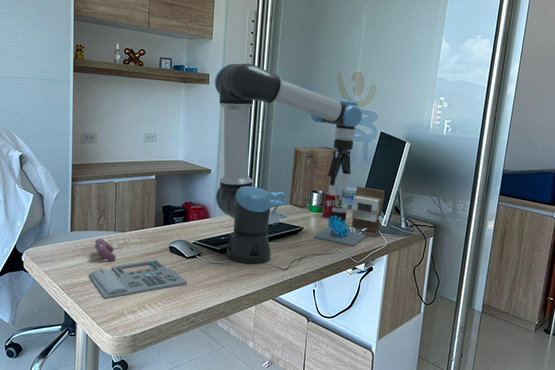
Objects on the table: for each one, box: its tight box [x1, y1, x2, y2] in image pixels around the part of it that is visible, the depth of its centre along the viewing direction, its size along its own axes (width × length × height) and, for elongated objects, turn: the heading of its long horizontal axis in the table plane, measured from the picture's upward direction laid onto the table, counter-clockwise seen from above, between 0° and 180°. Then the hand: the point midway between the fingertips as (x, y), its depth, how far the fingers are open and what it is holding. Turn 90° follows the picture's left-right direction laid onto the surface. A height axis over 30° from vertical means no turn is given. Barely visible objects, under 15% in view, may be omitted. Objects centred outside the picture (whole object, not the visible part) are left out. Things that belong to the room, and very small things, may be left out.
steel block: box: [268, 211, 281, 225], centre depth 210 cm, size 5×5×4 cm
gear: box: [327, 216, 351, 237], centre depth 198 cm, size 11×6×10 cm
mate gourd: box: [331, 194, 347, 222], centre depth 215 cm, size 8×8×15 cm
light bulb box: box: [340, 186, 356, 210], centre depth 252 cm, size 11×7×11 cm, turn 95°
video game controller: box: [94, 237, 117, 262], centre depth 151 cm, size 10×5×7 cm, turn 24°
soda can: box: [321, 192, 340, 220], centre depth 227 cm, size 7×7×12 cm
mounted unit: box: [347, 186, 385, 238], centre depth 205 cm, size 8×12×19 cm, turn 64°
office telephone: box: [88, 259, 188, 300], centre depth 137 cm, size 23×3×20 cm
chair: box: [268, 191, 287, 219], centre depth 221 cm, size 8×8×12 cm
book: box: [288, 146, 338, 209], centre depth 252 cm, size 25×9×30 cm, turn 136°
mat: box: [313, 226, 367, 247], centre depth 197 cm, size 18×17×1 cm
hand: (337, 191), depth 193 cm, fingers open, 13 cm apart
